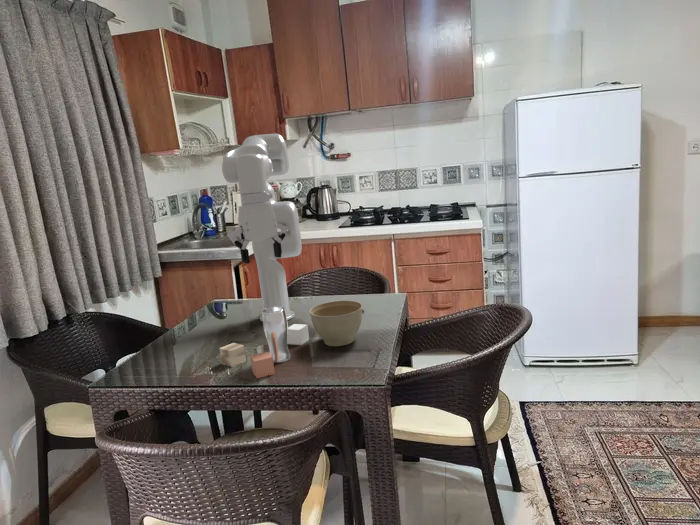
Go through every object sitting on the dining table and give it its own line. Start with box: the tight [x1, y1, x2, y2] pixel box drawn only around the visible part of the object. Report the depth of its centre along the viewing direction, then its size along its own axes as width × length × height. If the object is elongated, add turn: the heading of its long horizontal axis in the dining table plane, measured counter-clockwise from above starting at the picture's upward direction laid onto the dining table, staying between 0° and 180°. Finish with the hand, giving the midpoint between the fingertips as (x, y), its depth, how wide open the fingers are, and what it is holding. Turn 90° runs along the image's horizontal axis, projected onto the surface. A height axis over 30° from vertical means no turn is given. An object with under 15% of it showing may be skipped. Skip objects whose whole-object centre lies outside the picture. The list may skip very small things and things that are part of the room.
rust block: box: [249, 351, 276, 379], centre depth 143 cm, size 5×5×5 cm
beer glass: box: [261, 306, 291, 364], centre depth 151 cm, size 7×7×15 cm
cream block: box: [287, 323, 310, 346], centre depth 166 cm, size 5×5×5 cm
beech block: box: [219, 342, 247, 368], centre depth 153 cm, size 5×5×5 cm
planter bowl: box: [309, 300, 363, 347], centre depth 162 cm, size 16×16×11 cm
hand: (262, 259), depth 149 cm, fingers open, 9 cm apart
